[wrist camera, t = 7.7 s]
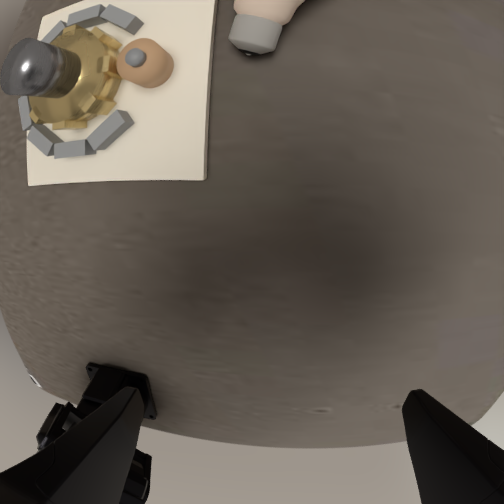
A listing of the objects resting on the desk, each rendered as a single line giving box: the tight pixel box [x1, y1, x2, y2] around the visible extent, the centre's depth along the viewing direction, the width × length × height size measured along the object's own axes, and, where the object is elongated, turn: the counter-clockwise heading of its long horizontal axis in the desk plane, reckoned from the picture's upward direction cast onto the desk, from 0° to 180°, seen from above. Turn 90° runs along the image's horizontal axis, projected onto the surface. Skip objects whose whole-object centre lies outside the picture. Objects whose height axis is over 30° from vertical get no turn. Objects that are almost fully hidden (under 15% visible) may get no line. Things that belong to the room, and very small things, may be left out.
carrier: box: [18, 0, 218, 186], centre depth 13 cm, size 14×14×4 cm
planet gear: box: [0, 24, 124, 130], centre depth 11 cm, size 7×7×7 cm
